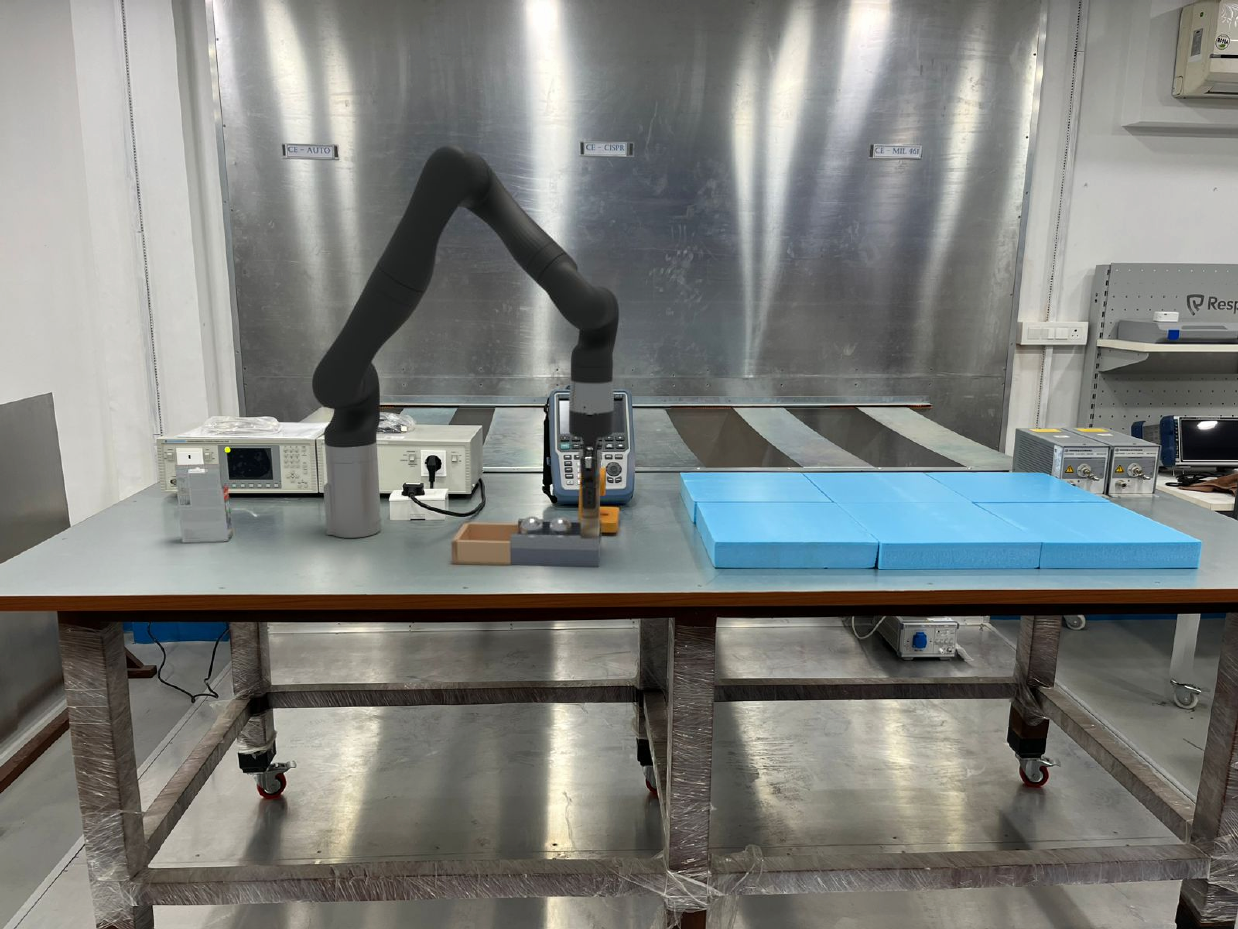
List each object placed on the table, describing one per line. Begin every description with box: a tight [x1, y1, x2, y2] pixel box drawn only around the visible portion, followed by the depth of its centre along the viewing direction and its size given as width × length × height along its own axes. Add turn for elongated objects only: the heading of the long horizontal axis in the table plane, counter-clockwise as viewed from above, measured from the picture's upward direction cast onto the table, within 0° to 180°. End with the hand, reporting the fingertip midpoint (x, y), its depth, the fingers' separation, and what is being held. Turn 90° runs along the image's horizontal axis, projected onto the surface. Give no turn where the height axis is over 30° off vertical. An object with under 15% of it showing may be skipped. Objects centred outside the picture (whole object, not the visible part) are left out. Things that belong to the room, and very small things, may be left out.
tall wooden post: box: [581, 464, 601, 536], centre depth 146 cm, size 3×6×14 cm, turn 178°
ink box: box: [174, 463, 234, 544], centre depth 152 cm, size 4×8×15 cm, turn 100°
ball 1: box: [520, 516, 543, 535], centre depth 147 cm, size 4×4×4 cm
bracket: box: [577, 467, 620, 533], centre depth 164 cm, size 11×7×12 cm, turn 177°
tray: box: [450, 521, 518, 566], centre depth 148 cm, size 10×11×4 cm
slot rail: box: [510, 518, 603, 568], centre depth 148 cm, size 15×10×5 cm
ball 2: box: [549, 516, 572, 535], centre depth 147 cm, size 4×4×4 cm
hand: (590, 504), depth 146 cm, fingers closed on tall wooden post, 3 cm apart
